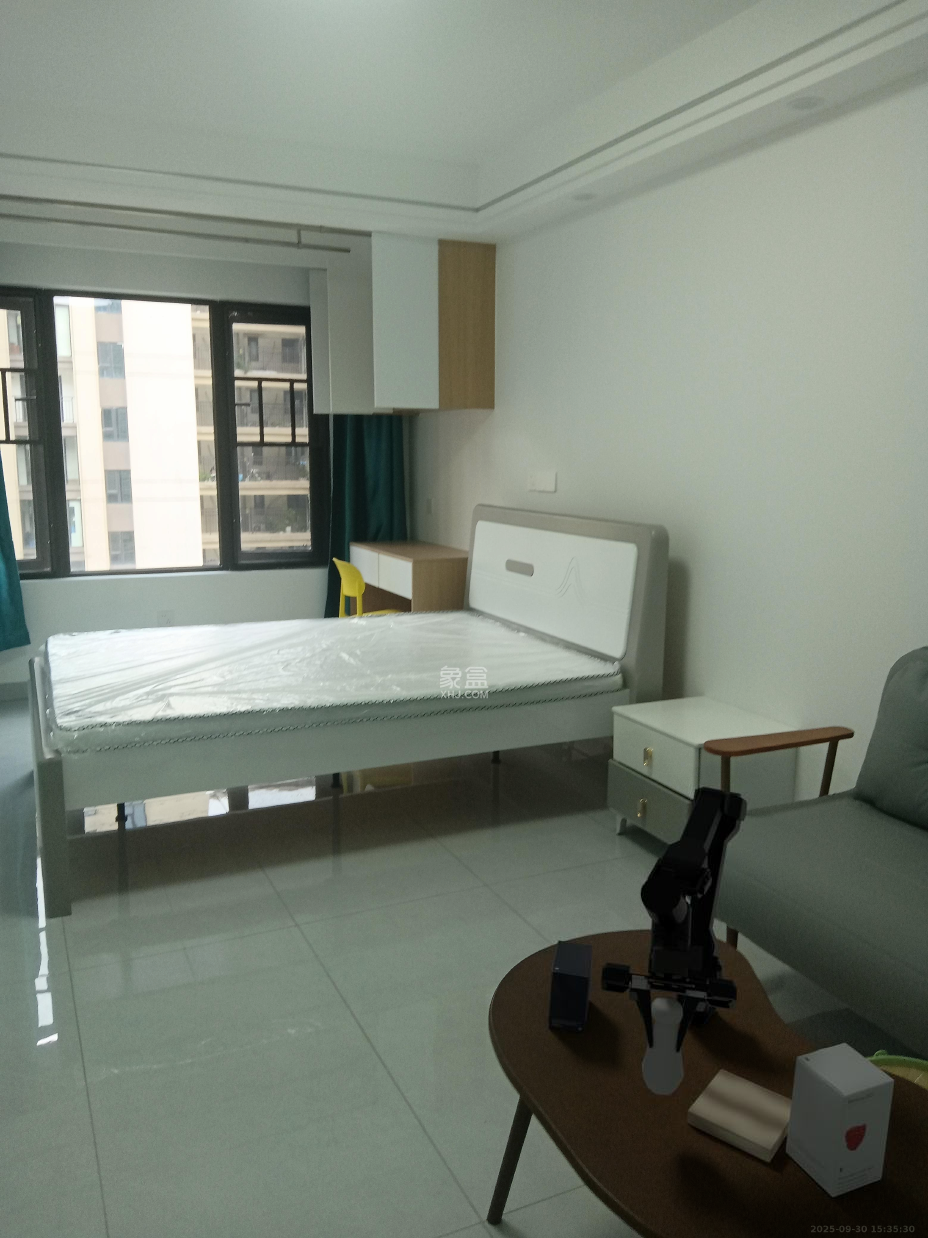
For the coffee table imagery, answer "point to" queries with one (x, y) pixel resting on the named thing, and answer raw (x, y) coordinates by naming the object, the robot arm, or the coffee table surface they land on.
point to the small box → (570, 986)
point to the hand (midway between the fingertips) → (664, 1050)
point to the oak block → (742, 1114)
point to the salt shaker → (664, 1048)
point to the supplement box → (839, 1118)
